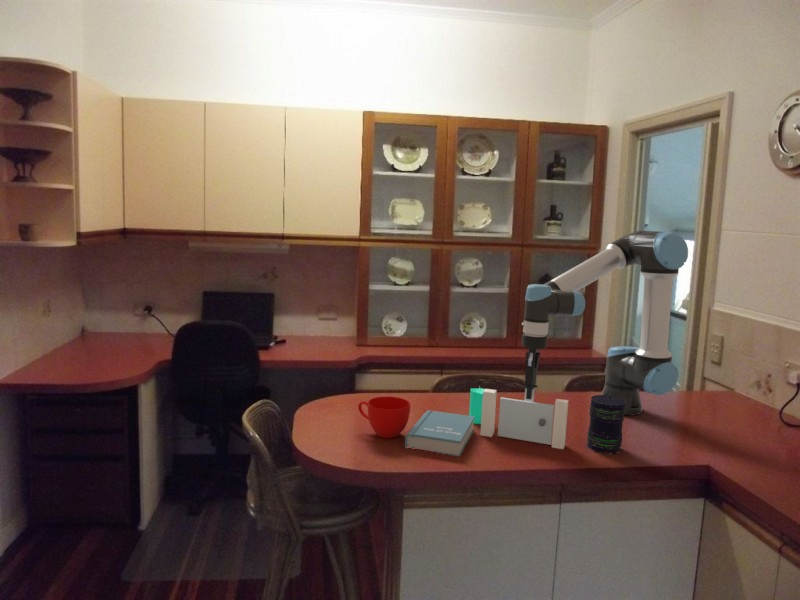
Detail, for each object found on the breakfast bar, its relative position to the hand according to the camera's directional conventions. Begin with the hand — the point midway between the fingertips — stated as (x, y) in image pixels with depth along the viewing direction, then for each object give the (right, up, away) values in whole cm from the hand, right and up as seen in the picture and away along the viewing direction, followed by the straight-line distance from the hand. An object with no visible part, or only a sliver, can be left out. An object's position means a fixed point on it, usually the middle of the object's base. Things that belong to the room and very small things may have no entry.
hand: (528, 408), depth 189 cm
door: (-3, -9, -7) cm, 11 cm away
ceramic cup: (-46, -7, -5) cm, 47 cm away
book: (-28, -9, -7) cm, 30 cm away
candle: (-15, -6, +10) cm, 19 cm away
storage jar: (+21, -11, -9) cm, 25 cm away
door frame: (-3, -9, -6) cm, 11 cm away
